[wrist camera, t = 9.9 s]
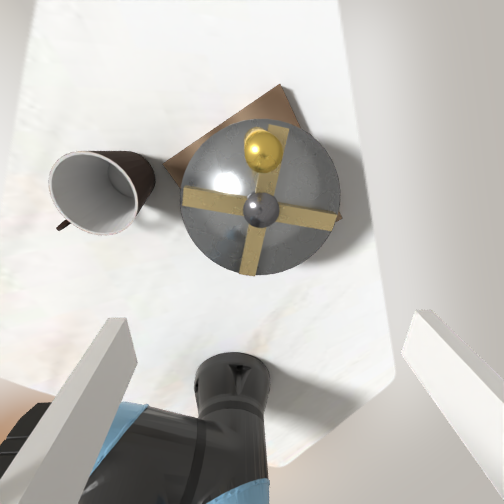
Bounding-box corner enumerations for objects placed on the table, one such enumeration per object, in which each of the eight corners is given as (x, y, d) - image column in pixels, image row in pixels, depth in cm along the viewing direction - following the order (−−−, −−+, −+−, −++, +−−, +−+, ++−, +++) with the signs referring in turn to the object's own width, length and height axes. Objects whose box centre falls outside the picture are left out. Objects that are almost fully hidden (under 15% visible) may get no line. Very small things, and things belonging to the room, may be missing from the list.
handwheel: (359, 137, 29) (424, 150, 18) (310, 277, 36) (337, 341, 26) (189, 101, 26) (156, 92, 16) (177, 258, 34) (150, 318, 24)
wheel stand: (241, 267, 43) (241, 289, 38) (165, 162, 35) (151, 170, 30) (339, 214, 39) (354, 230, 34) (278, 84, 32) (285, 78, 26)
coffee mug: (151, 136, 34) (118, 143, 25) (171, 201, 38) (149, 228, 29) (63, 152, 34) (1, 165, 25) (92, 215, 38) (47, 245, 29)
